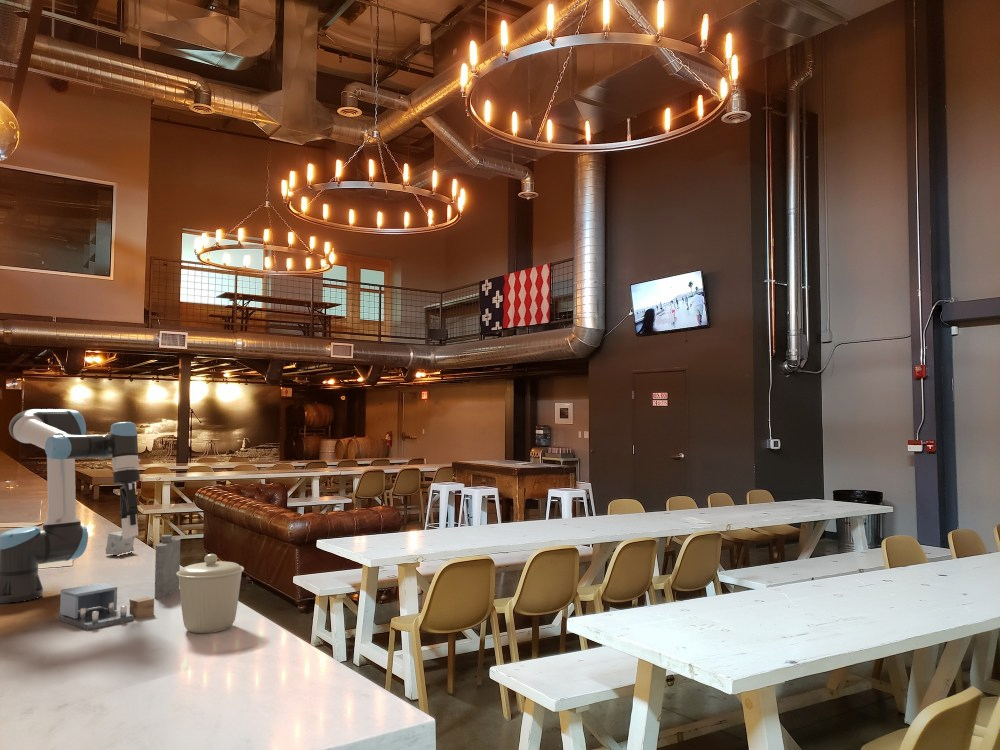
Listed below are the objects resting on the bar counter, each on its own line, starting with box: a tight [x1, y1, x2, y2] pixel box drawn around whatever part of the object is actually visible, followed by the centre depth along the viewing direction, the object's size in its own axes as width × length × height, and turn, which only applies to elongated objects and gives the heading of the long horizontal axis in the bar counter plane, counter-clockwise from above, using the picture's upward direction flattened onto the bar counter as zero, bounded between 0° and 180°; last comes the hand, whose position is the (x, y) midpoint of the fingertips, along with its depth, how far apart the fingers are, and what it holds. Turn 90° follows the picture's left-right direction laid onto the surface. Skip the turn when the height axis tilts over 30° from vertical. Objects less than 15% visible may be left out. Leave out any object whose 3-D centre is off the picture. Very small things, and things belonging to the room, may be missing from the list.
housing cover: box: [59, 582, 118, 618], centre depth 221 cm, size 10×12×7 cm
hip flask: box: [154, 534, 181, 599], centre depth 254 cm, size 16×4×20 cm, turn 3°
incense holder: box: [105, 530, 137, 556], centre depth 331 cm, size 10×8×10 cm
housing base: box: [56, 602, 134, 631], centre depth 218 cm, size 20×13×4 cm, turn 53°
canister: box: [176, 553, 245, 634], centre depth 208 cm, size 18×18×21 cm
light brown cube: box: [129, 596, 155, 619], centre depth 223 cm, size 5×5×5 cm
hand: (130, 537), depth 229 cm, fingers open, 13 cm apart
